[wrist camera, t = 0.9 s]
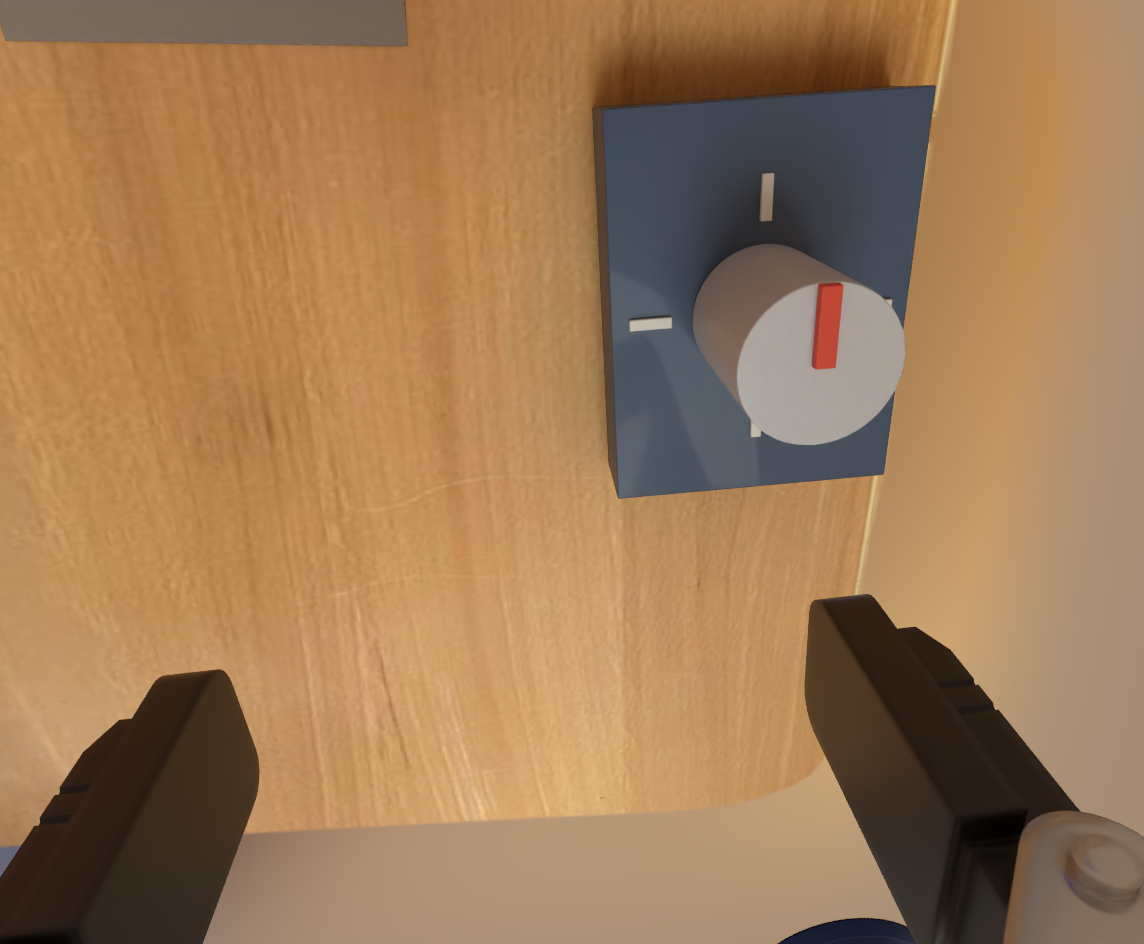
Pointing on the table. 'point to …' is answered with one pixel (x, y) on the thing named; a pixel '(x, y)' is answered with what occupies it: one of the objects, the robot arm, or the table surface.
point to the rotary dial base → (723, 227)
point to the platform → (207, 21)
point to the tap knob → (798, 343)
